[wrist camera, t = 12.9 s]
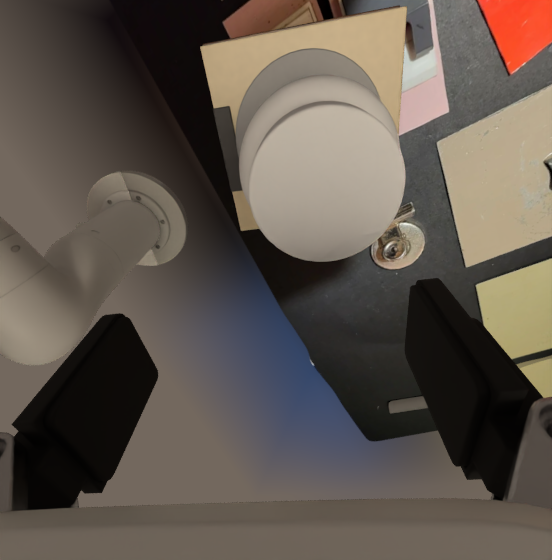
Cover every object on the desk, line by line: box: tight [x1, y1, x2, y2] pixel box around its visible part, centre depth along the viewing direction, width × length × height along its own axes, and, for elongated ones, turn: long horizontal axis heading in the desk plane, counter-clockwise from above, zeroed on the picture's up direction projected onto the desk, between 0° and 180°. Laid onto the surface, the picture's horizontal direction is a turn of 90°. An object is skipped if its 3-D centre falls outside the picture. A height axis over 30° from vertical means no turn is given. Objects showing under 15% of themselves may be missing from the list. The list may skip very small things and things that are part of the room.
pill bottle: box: [239, 75, 405, 262], centre depth 14 cm, size 6×6×11 cm
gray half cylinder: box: [389, 396, 428, 413], centre depth 77 cm, size 4×20×2 cm, turn 109°
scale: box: [200, 6, 407, 231], centre depth 20 cm, size 11×11×4 cm
